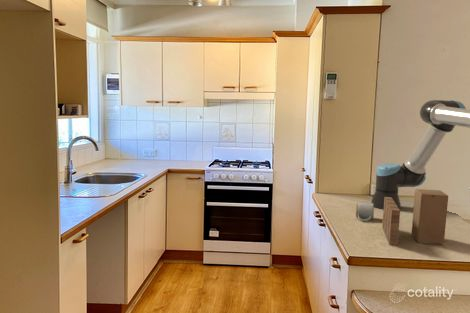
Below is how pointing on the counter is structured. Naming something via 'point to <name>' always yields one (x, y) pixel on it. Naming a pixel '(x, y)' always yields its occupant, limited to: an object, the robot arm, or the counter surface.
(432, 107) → the robot arm
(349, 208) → the counter surface
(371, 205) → the ceramic mug
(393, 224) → the walnut board
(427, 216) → the wooden block
